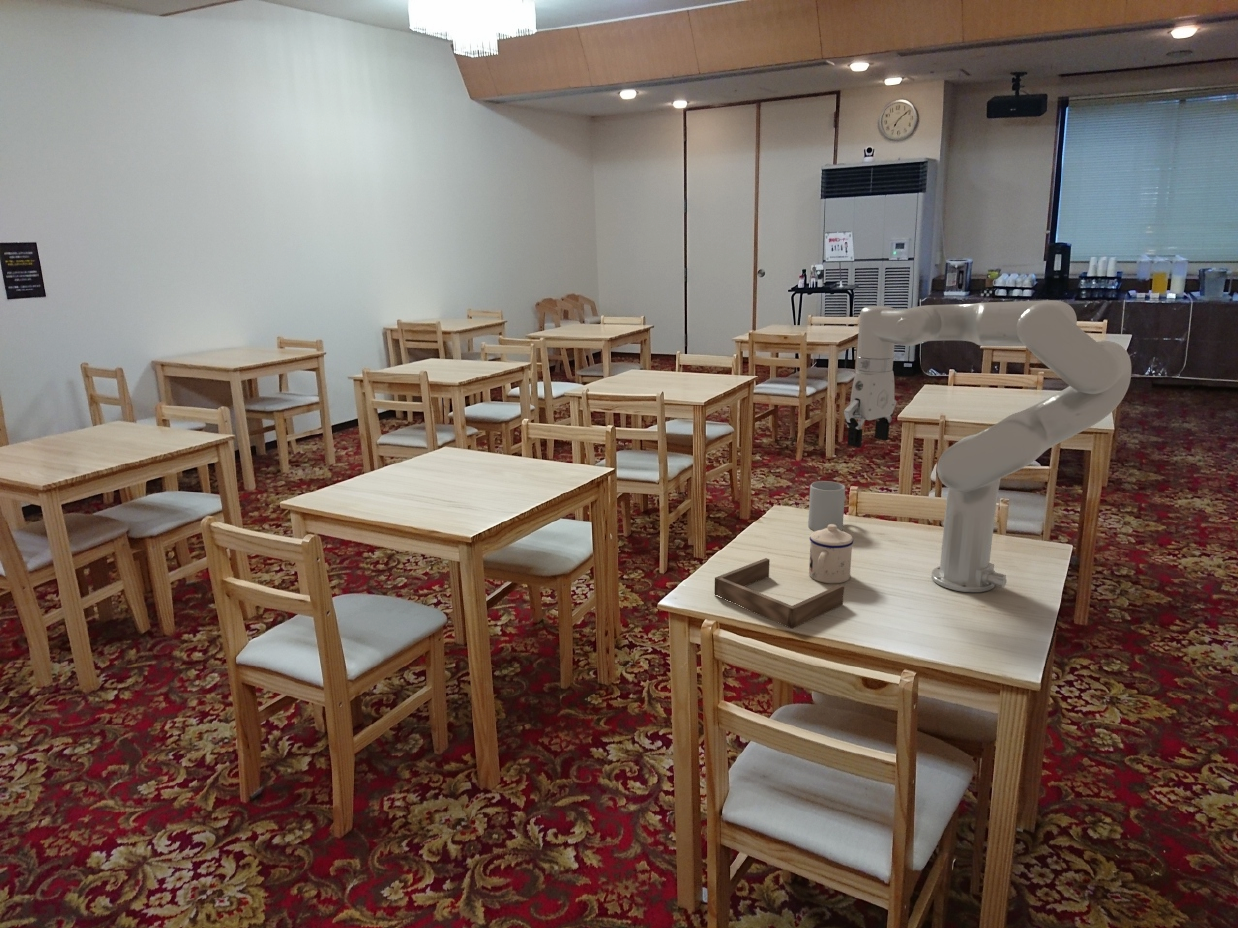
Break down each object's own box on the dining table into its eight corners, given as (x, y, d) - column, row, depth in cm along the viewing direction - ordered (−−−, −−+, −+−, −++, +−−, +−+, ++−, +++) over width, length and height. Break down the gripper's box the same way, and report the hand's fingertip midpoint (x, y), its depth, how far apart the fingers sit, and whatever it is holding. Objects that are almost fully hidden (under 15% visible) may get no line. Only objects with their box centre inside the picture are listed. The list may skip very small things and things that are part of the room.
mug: (831, 535, 208) (833, 492, 205) (801, 527, 213) (803, 486, 210) (856, 523, 216) (859, 482, 213) (826, 516, 222) (829, 476, 219)
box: (842, 604, 170) (844, 585, 169) (792, 628, 160) (793, 609, 159) (765, 575, 184) (765, 557, 183) (714, 595, 174) (714, 577, 173)
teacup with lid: (815, 565, 190) (817, 515, 186) (856, 572, 185) (859, 522, 182) (797, 584, 180) (800, 532, 176) (840, 592, 175) (843, 539, 172)
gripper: (864, 371, 174) (858, 452, 178) (913, 363, 184) (905, 439, 189) (834, 367, 179) (829, 445, 184) (883, 359, 190) (877, 433, 194)
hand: (867, 442), depth 186 cm, fingers open, 9 cm apart
